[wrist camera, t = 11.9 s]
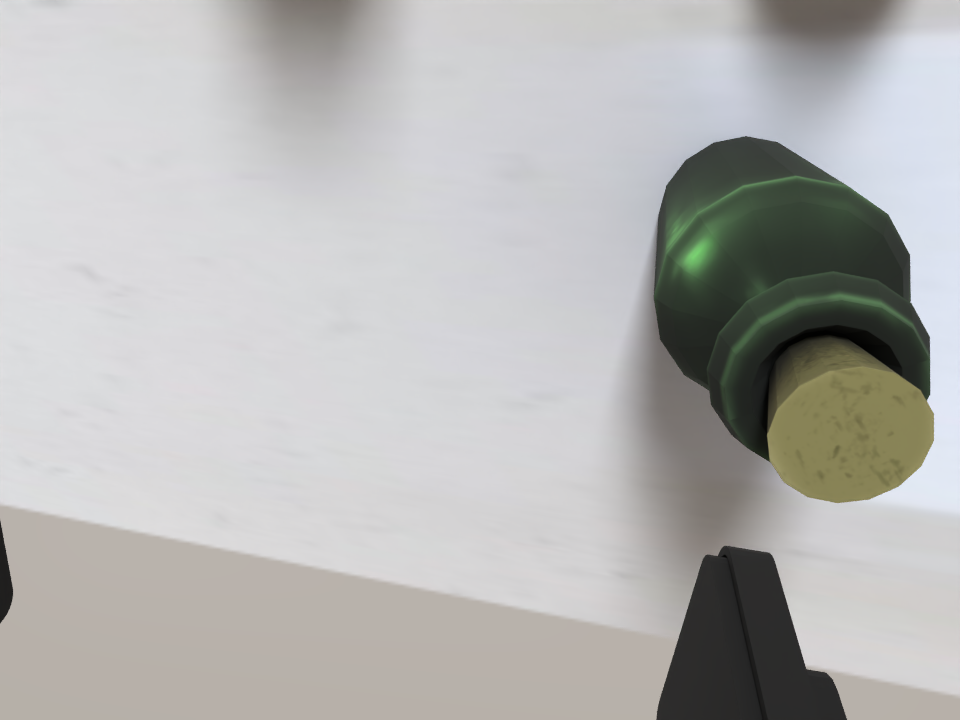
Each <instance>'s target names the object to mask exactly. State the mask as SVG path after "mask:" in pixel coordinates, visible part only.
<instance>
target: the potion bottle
mask: <svg viewBox="0 0 960 720" xmlns="http://www.w3.org/2000/svg"><path fill="white" fill-rule="evenodd" d="M910 301H911V293H910V254H909V252H908V251H907V249H906V247H905V245H904V243H903V241H902V239H901V237H900V236H899V234H898V232H897V230H896V228H895V226H894V224H893V222H892V221H891V219H890V217H889V215H888V214H887V213H885V212H884V211H883V210H881V209H880V208H878V207H877V206H875V205H874V204H873V203H871V202H870V201H868V200H867V199H865V198H864V197H863V196H861V195H860V194H858V193H857V192H855V191H854V190H853V189H851V188H850V187H848V186H847V185H845V184H844V183H842V182H840V181H839V180H837V179H836V178H834V177H832V176H831V175H829V174H827V173H826V172H824V171H823V170H821V169H819V168H818V167H816V166H815V165H813V164H811V163H810V162H808V161H807V160H805V159H803V158H802V157H800V156H799V155H797V154H795V153H794V152H792V151H791V150H789V149H787V148H786V147H784V146H783V145H781V144H779V143H778V142H773V141H768V140H763V139H757V138H752V137H747V136H745V137H740V138H735V139H730V140H725V141H720V142H715V143H713V144H711V145H709V146H708V147H706V148H705V149H703V150H701V151H700V152H698V153H697V154H695V155H693V156H692V157H690V158H689V159H687V160H686V161H685V162H684V163H683V165H682V166H681V167H680V169H679V170H678V171H677V173H676V174H675V175H674V177H673V178H672V179H671V181H670V182H669V183H668V184H667V186H666V190H665V193H664V197H663V201H662V204H661V208H660V212H659V218H658V235H657V252H656V269H655V287H654V302H655V308H656V314H657V321H658V327H659V334H660V340H661V341H662V343H663V344H664V346H665V347H666V349H667V350H668V352H669V353H670V355H671V356H672V358H673V359H674V361H675V362H676V364H677V365H678V367H679V368H680V369H681V371H682V372H683V374H684V375H685V376H687V377H689V378H690V379H692V380H693V381H695V382H697V383H698V384H700V385H701V386H703V387H704V388H706V389H708V390H709V391H710V399H711V405H712V407H713V408H714V410H715V411H716V413H717V414H718V416H719V417H720V419H721V420H722V422H723V423H724V425H725V426H726V428H727V429H728V430H729V432H730V433H731V435H733V436H734V437H735V438H736V439H737V440H738V441H740V442H741V443H742V444H743V445H744V446H745V447H747V448H748V449H750V450H751V451H753V452H755V453H756V454H758V455H759V456H761V457H763V458H764V459H766V460H767V461H769V462H771V463H772V465H773V466H774V468H775V470H776V471H777V473H778V474H779V476H780V477H781V479H782V480H783V482H784V483H786V484H787V485H789V486H791V487H792V488H794V489H795V490H797V491H799V492H800V493H802V494H803V495H805V496H807V497H810V498H815V499H820V500H825V501H830V502H835V503H842V502H851V501H860V500H869V499H871V498H873V497H876V496H878V495H880V494H883V493H885V492H887V491H890V490H892V489H894V488H896V487H898V486H900V485H901V484H902V483H903V482H904V481H905V480H906V479H907V478H909V477H910V476H911V475H912V474H913V473H914V472H915V471H916V470H918V469H919V468H920V467H921V466H922V464H923V462H924V459H925V457H926V455H927V453H928V451H929V449H930V447H931V445H932V443H933V441H934V413H933V412H932V410H931V408H930V406H929V405H928V403H927V399H928V397H929V395H930V337H929V335H928V333H927V331H926V329H925V327H924V326H923V324H922V322H921V320H920V318H919V316H918V315H917V313H916V311H915V309H914V307H913V305H912V304H911V303H910Z"/></svg>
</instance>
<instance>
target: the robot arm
mask: <svg viewBox="0 0 960 720" xmlns="http://www.w3.org/2000/svg"><path fill="white" fill-rule="evenodd" d="M12 597H13V587H12V582H11V576H10V571H9V565H8V561H7V555H6V549H5V544H4V538H3V533H2V528H1V522H0V623H1V622H2V620H3V619H4V617H5V616H6V615H7V613H8V610H9V609H10V606H11V602H12ZM657 720H847V718H846V715H845V712H844V709H843V706H842V703H841V700H840V697H839V694H838V691H837V689H836V686H835V684H834V682H833V680H832V678H831V677H830V676H829V675H828V674H827V673H825V672H819V671H813V670H807V669H806V667H805V664H804V660H803V657H802V653H801V650H800V646H799V643H798V640H797V636H796V633H795V629H794V626H793V622H792V619H791V616H790V612H789V609H788V605H787V602H786V598H785V595H784V592H783V588H782V585H781V581H780V578H779V574H778V571H777V568H776V564H775V561H774V559H773V556H772V555H771V554H770V553H767V552H761V551H755V550H749V549H742V548H736V547H730V546H724V547H723V548H722V549H721V550H720V553H719V555H718V556H713V555H706V556H705V557H704V558H703V561H702V564H701V567H700V570H699V573H698V577H697V580H696V583H695V587H694V590H693V593H692V596H691V600H690V603H689V606H688V609H687V613H686V616H685V619H684V622H683V626H682V629H681V632H680V635H679V639H678V642H677V645H676V648H675V652H674V655H673V658H672V662H671V665H670V668H669V671H668V675H667V678H666V681H665V684H664V688H663V691H662V694H661V698H660V701H659V705H658V711H657Z"/></svg>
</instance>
